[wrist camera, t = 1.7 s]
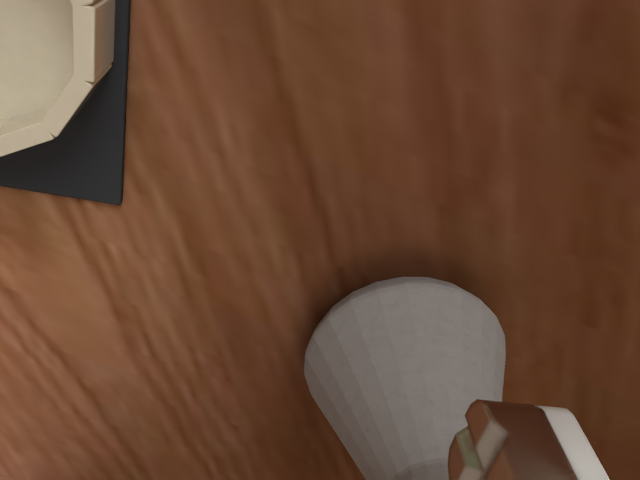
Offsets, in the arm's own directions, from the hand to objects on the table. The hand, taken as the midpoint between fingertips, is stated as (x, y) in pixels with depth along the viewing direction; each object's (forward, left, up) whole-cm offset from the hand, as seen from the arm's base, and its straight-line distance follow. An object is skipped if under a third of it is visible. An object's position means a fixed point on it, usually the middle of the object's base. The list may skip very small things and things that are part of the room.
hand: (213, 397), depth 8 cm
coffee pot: (+18, +13, -19) cm, 30 cm away
